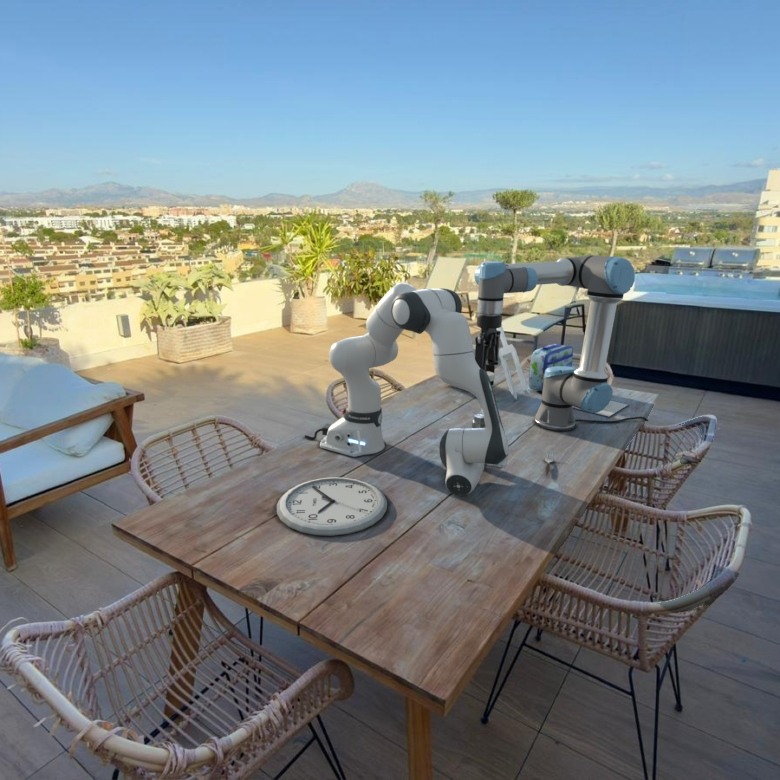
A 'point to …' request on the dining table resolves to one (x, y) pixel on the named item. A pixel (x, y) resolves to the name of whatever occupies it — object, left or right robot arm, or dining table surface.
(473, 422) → the grey cylinder
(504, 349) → the white plastic object
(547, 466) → the fork
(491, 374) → the lid
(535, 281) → the right robot arm
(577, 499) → the dining table surface
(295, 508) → the wall clock
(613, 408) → the invitation card
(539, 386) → the lunch box
